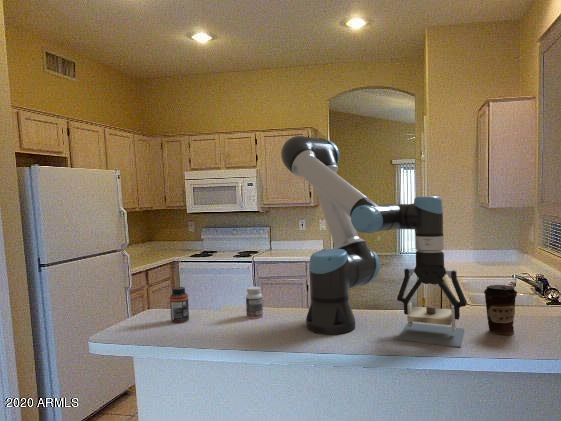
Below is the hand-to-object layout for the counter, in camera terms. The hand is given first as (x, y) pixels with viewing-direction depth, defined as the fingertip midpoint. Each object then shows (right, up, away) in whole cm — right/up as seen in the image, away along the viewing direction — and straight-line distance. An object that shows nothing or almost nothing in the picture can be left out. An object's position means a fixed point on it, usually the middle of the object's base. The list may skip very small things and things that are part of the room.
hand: (431, 328), depth 114 cm
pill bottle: (-52, -3, +24) cm, 57 cm away
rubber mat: (0, -2, 0) cm, 2 cm away
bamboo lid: (0, +3, 0) cm, 3 cm away
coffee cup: (+20, -1, 0) cm, 20 cm away
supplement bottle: (-77, -4, +22) cm, 80 cm away
